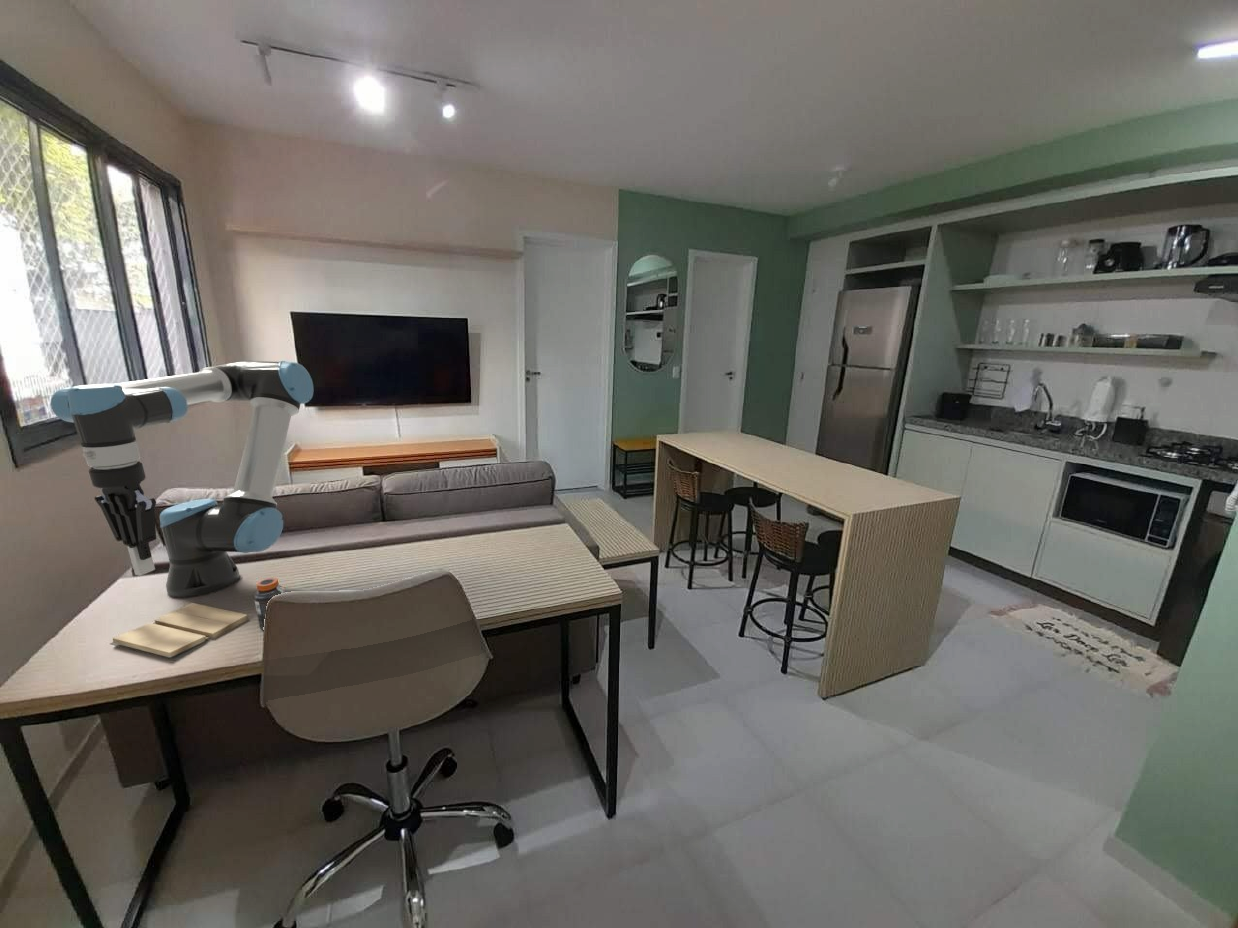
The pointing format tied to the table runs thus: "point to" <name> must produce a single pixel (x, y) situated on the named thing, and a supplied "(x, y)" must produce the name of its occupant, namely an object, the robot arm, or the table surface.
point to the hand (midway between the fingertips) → (145, 571)
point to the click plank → (160, 639)
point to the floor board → (202, 620)
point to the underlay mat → (181, 652)
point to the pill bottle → (265, 596)
